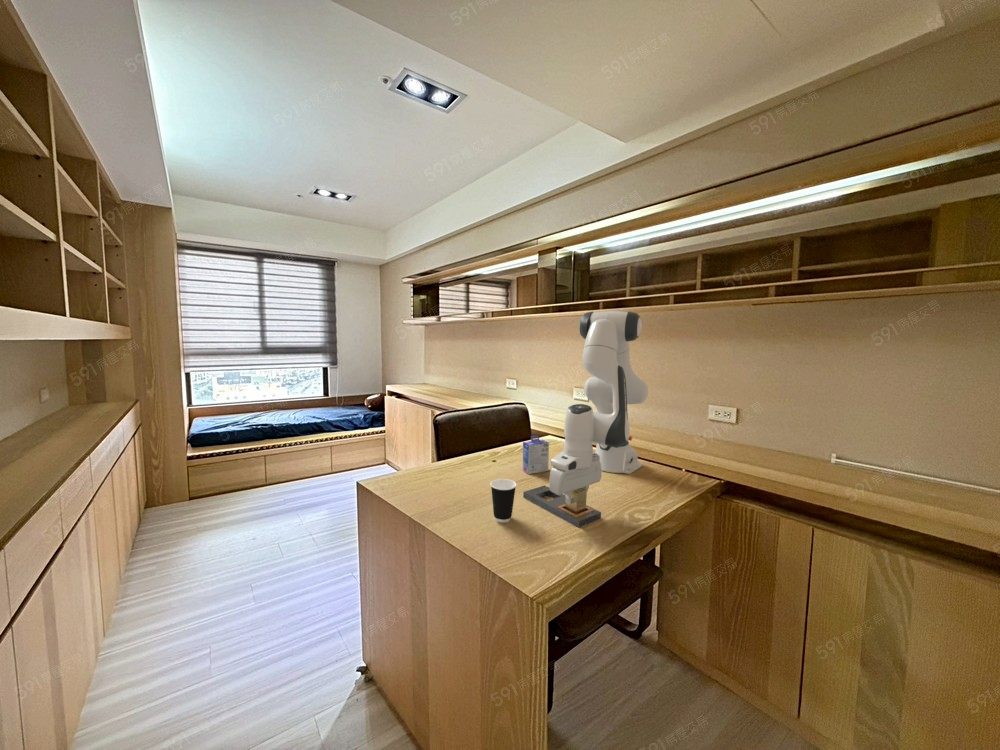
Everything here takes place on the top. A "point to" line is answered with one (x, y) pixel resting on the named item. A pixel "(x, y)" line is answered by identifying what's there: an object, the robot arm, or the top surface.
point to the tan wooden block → (577, 501)
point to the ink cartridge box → (535, 455)
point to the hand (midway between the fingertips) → (575, 501)
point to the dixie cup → (503, 499)
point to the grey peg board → (560, 506)
